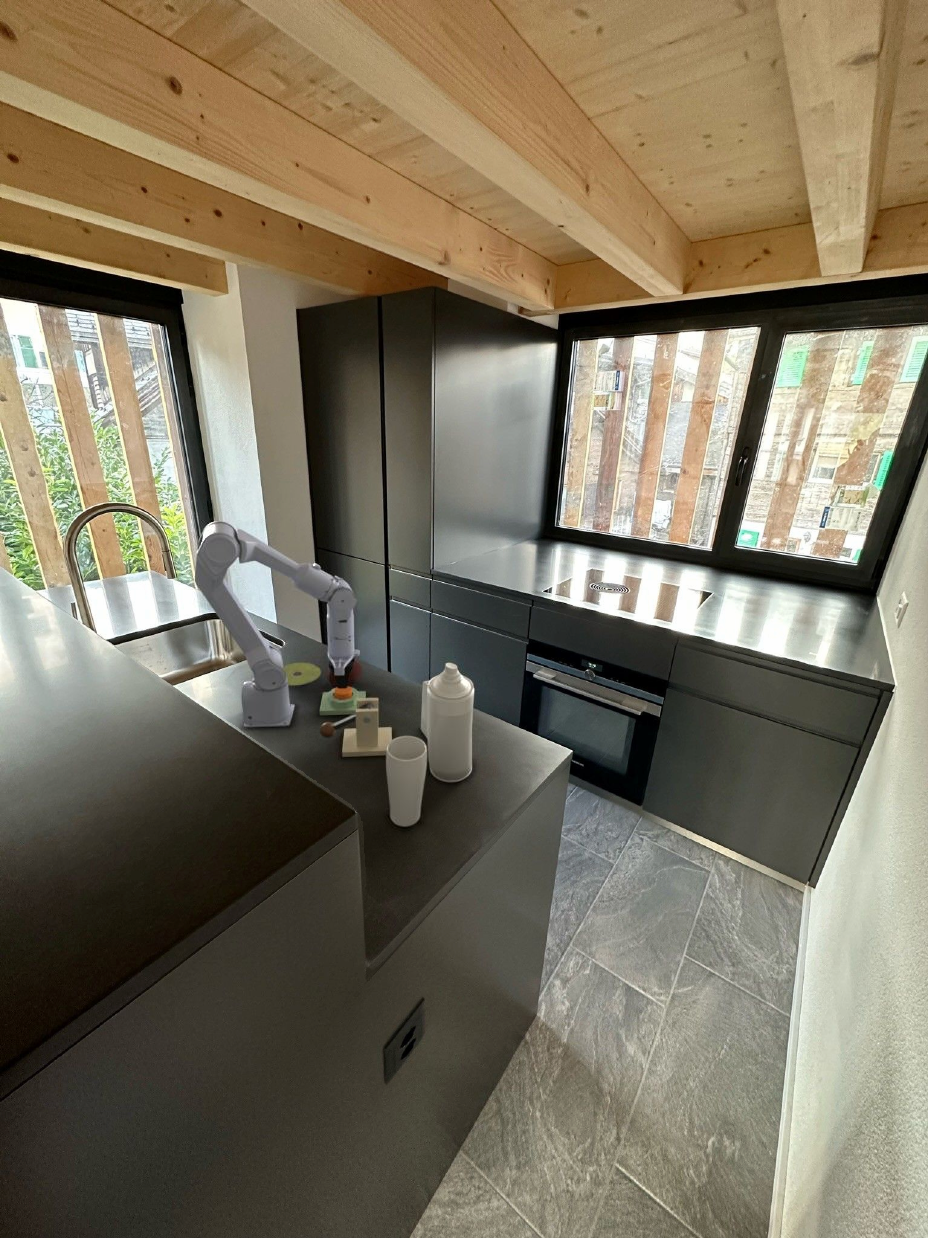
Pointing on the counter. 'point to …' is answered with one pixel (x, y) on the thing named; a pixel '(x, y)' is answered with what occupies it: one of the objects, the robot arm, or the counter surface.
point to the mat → (301, 673)
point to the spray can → (450, 724)
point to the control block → (340, 703)
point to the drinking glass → (406, 778)
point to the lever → (340, 723)
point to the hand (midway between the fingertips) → (342, 687)
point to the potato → (353, 675)
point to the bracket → (366, 733)
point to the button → (343, 693)
